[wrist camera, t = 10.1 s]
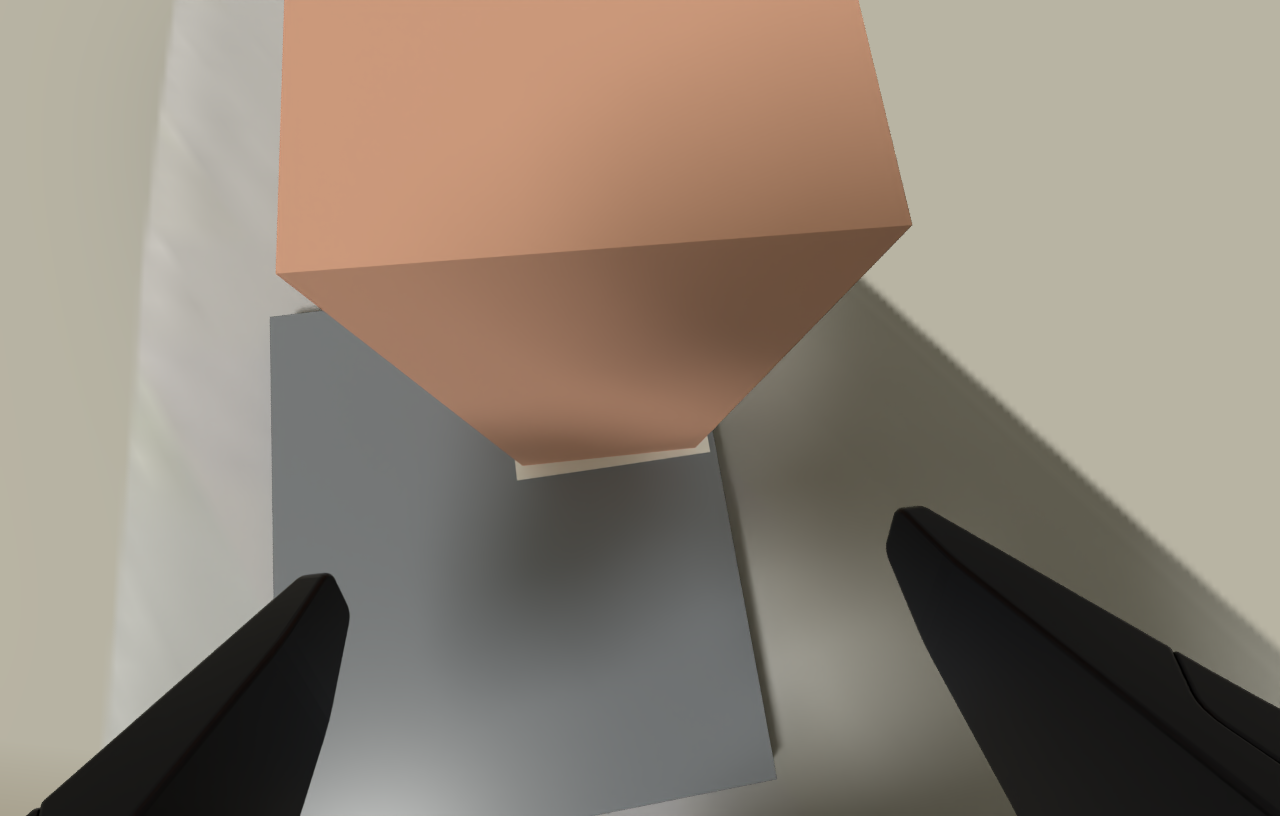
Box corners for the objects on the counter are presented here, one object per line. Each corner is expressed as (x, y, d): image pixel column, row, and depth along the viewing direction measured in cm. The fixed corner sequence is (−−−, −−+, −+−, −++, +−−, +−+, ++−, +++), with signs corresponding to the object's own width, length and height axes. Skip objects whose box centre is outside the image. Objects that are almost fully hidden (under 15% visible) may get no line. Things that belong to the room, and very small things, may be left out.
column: (695, 447, 16) (912, 224, 5) (522, 465, 16) (275, 273, 4) (673, 289, 17) (805, -221, 6) (511, 302, 17) (291, -214, 5)
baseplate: (770, 769, 15) (778, 780, 14) (291, 865, 14) (274, 881, 13) (679, 276, 18) (682, 265, 18) (281, 324, 17) (268, 315, 16)
